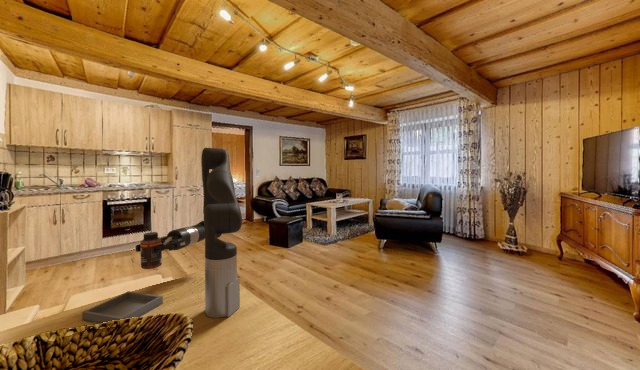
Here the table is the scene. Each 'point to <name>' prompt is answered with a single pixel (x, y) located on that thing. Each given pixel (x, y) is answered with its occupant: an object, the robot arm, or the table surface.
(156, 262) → the supplement bottle
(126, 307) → the tray
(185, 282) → the table surface
